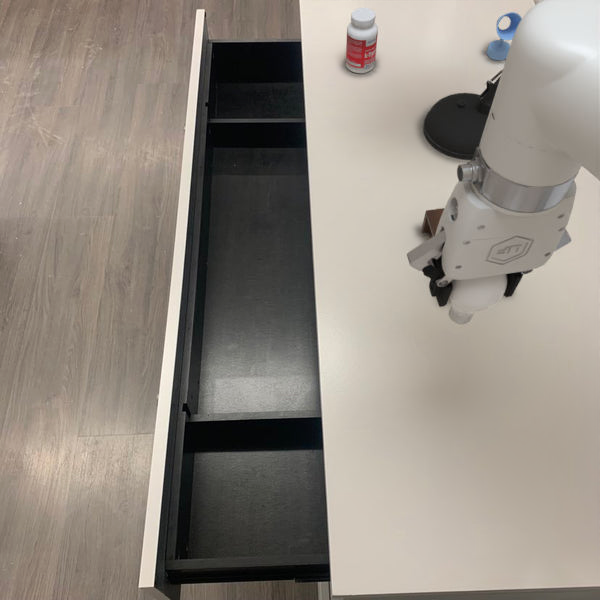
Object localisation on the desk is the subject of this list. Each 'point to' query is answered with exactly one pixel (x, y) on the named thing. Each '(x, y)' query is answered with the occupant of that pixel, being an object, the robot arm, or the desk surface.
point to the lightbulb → (475, 296)
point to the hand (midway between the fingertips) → (471, 289)
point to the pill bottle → (361, 41)
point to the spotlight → (503, 38)
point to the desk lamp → (460, 121)
